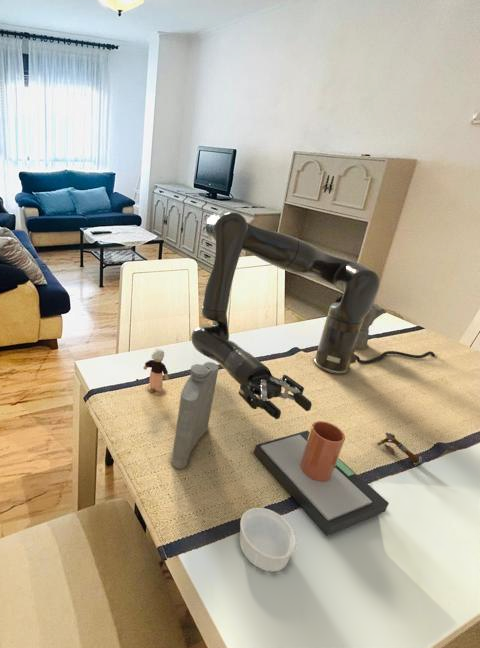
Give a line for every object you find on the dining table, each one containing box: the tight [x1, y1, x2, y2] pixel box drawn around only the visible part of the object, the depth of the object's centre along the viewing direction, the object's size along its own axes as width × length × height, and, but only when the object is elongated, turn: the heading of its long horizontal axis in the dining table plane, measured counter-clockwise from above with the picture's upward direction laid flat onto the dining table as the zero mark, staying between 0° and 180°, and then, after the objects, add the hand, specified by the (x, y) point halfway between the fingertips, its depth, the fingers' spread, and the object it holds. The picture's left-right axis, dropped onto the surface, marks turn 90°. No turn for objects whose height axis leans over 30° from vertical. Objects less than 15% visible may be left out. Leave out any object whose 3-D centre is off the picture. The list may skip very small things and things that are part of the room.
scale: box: [253, 430, 390, 537], centre depth 79 cm, size 15×20×3 cm
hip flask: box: [170, 361, 220, 470], centre depth 83 cm, size 16×4×20 cm, turn 148°
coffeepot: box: [334, 295, 387, 350], centre depth 133 cm, size 15×9×18 cm, turn 44°
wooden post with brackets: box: [376, 431, 423, 467], centre depth 87 cm, size 2×8×4 cm, turn 48°
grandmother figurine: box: [143, 348, 170, 396], centre depth 102 cm, size 8×4×13 cm, turn 65°
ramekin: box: [239, 507, 297, 573], centre depth 65 cm, size 9×9×4 cm
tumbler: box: [300, 420, 346, 482], centre depth 76 cm, size 6×6×10 cm
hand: (294, 411), depth 83 cm, fingers open, 8 cm apart
